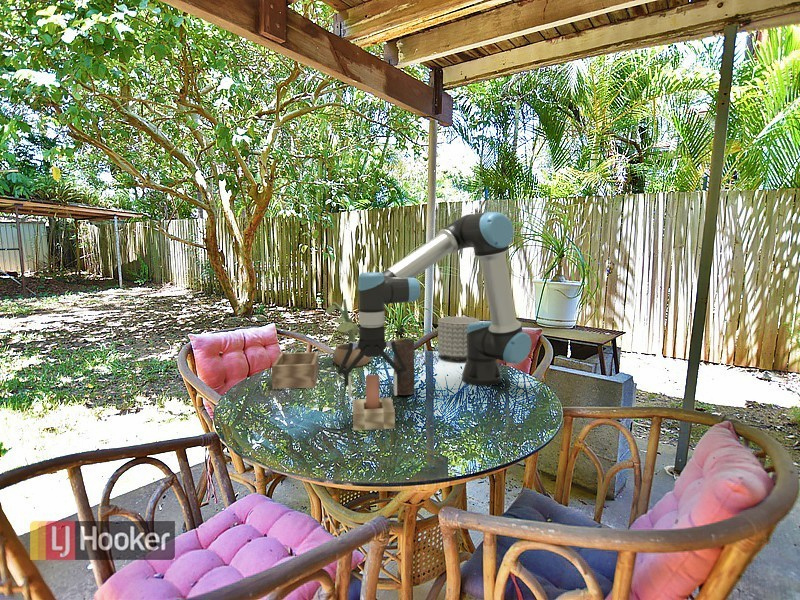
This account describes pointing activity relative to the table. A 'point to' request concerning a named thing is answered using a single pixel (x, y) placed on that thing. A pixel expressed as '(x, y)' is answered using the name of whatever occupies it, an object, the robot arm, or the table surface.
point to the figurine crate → (295, 370)
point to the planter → (453, 336)
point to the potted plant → (352, 330)
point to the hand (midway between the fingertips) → (372, 395)
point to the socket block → (373, 415)
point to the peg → (372, 392)
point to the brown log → (407, 356)
